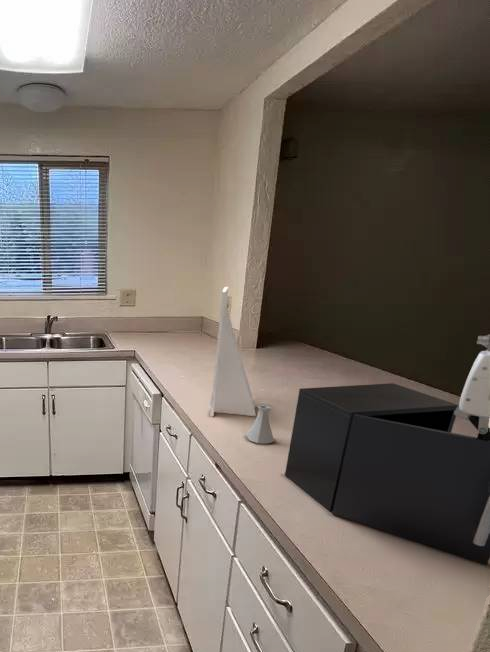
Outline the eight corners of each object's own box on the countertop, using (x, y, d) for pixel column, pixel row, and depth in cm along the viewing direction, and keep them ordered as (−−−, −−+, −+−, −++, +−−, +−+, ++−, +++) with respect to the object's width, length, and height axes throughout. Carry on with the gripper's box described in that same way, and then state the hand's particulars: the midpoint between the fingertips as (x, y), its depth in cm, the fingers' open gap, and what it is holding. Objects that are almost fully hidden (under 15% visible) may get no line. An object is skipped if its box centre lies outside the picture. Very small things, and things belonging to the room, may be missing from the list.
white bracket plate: (256, 421, 139) (273, 292, 125) (210, 416, 143) (222, 291, 130) (254, 402, 157) (270, 287, 143) (213, 398, 161) (224, 287, 147)
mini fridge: (430, 501, 94) (459, 405, 86) (329, 511, 90) (351, 412, 82) (372, 467, 108) (393, 383, 101) (284, 475, 105) (299, 388, 97)
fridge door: (487, 581, 70) (533, 461, 63) (325, 525, 85) (347, 423, 78) (487, 562, 75) (530, 447, 67) (333, 512, 90) (354, 413, 82)
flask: (256, 445, 121) (261, 412, 118) (241, 435, 128) (245, 403, 124) (278, 443, 123) (284, 410, 119) (263, 433, 129) (267, 401, 126)
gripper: (456, 344, 68) (426, 450, 75) (597, 358, 59) (549, 477, 65) (459, 338, 74) (430, 437, 80) (589, 349, 64) (544, 460, 71)
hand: (483, 455), depth 73 cm, fingers closed
